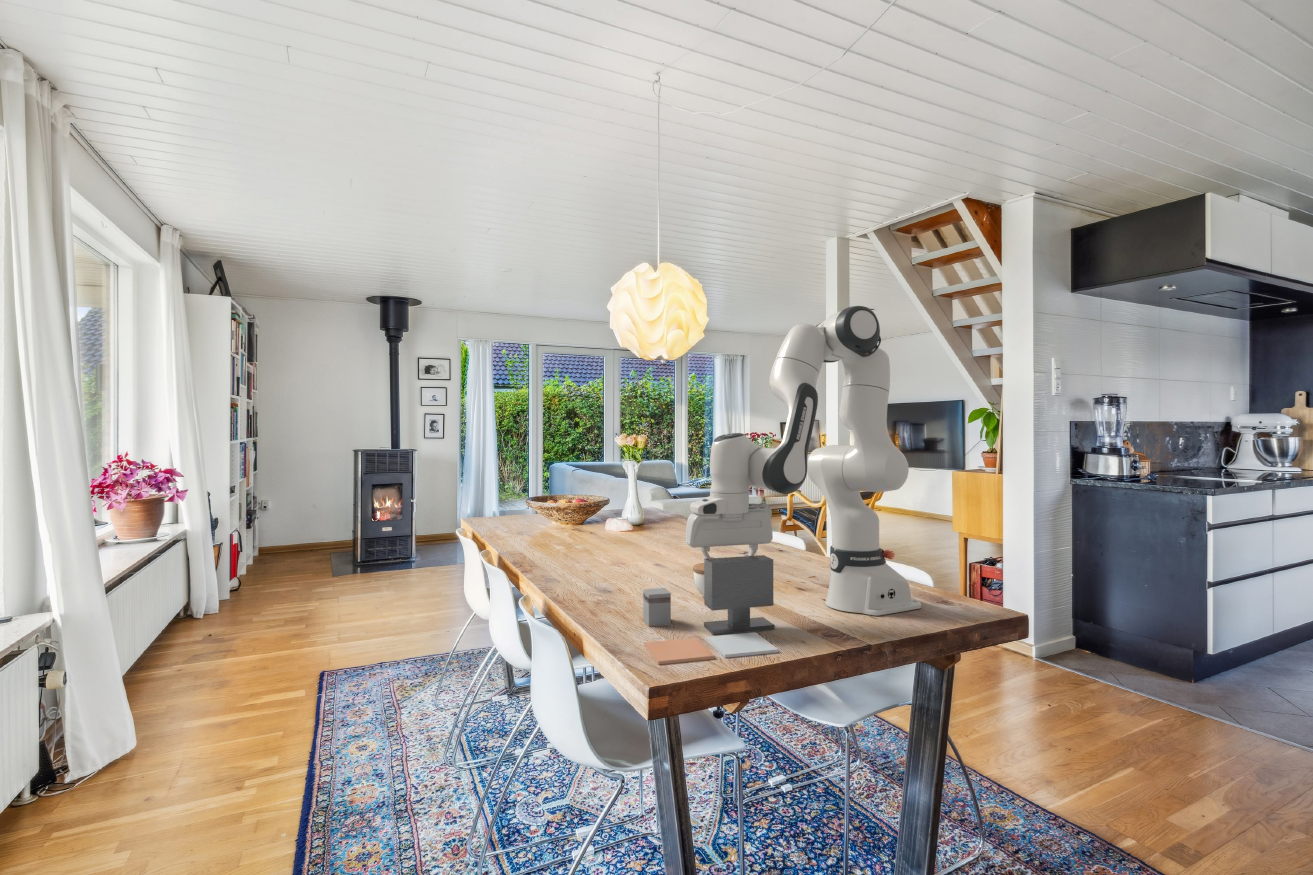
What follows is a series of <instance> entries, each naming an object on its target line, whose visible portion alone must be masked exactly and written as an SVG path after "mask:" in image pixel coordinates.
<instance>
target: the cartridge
mask: <svg viewBox="0 0 1313 875" xmlns="http://www.w3.org/2000/svg"><path fill="white" fill-rule="evenodd" d="M642 590H643V592H642V593H643V594H642V595H643V596H642V597H643V606H642V607H643V618H642V619H643V620H642V621H643V622H644V623H645V624H646V625H647V626H648V627H649V628H650V627H659V626H660V627H661V626H669V625H671V624H672V623H671V622H672V621H671V619H672V618H671V617H672V616H671V615H672V614H671V612H672V608H671V604H672V600H671V594H672V593H671V592H670V591H669V590H668V589H666V587H661V588H658V587H657V588H646V589H645V588H644V589H642Z"/></svg>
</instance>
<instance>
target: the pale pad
mask: <svg viewBox="0 0 1313 875" xmlns="http://www.w3.org/2000/svg"><path fill="white" fill-rule="evenodd" d="M705 641H706V642H707V643H709V645H710V646H712V647H713V649H715V650H716V651H717V652H718V653H719V654H720V655H721V656H722V657H723V658H724V659H728V658H738V657H745V656H757V655H766V654H774V653H775V654H778V653H779V648H777V647H776V646H775V645H773V644H771V643H770V642H769V641H768V640H766V639H765V638H764V637H762V636H761V635H760V634H758V633H757V631H753V632H742V633H731V634H720V635H712V636H710V635H709V636H705Z"/></svg>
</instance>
